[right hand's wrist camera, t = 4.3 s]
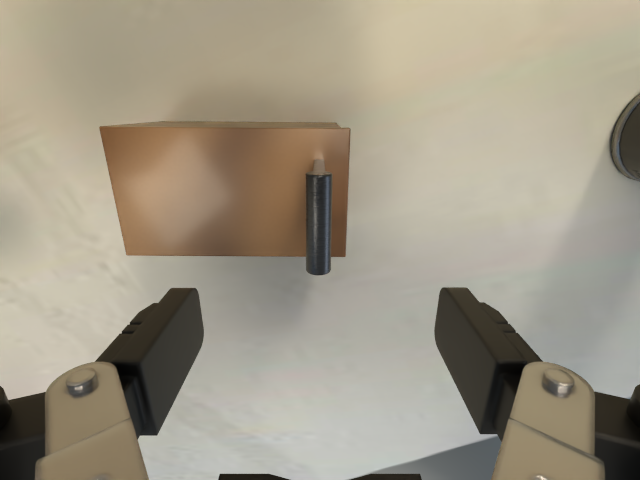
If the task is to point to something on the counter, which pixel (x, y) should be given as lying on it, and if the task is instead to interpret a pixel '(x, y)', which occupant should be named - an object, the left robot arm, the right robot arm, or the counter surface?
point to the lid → (231, 190)
